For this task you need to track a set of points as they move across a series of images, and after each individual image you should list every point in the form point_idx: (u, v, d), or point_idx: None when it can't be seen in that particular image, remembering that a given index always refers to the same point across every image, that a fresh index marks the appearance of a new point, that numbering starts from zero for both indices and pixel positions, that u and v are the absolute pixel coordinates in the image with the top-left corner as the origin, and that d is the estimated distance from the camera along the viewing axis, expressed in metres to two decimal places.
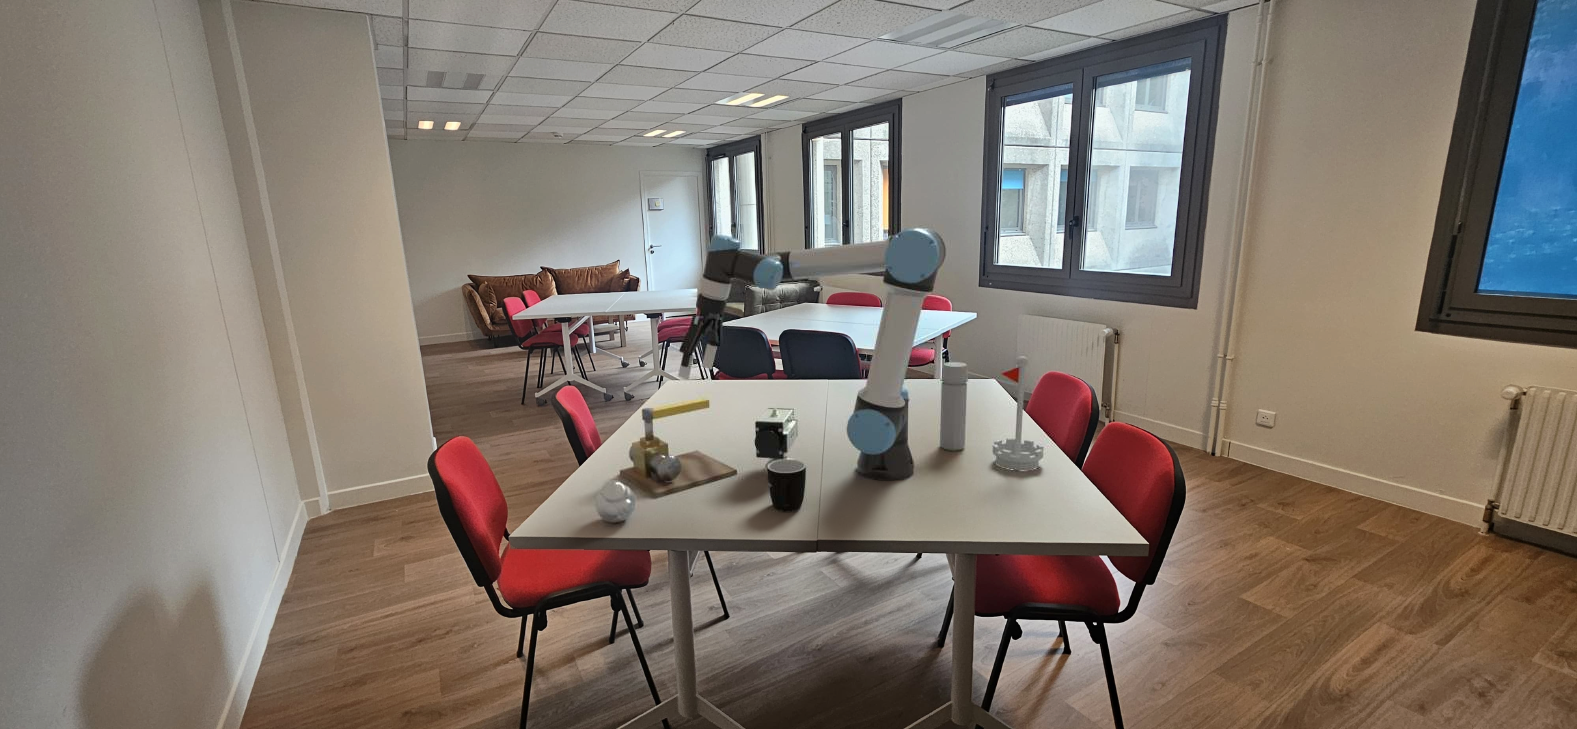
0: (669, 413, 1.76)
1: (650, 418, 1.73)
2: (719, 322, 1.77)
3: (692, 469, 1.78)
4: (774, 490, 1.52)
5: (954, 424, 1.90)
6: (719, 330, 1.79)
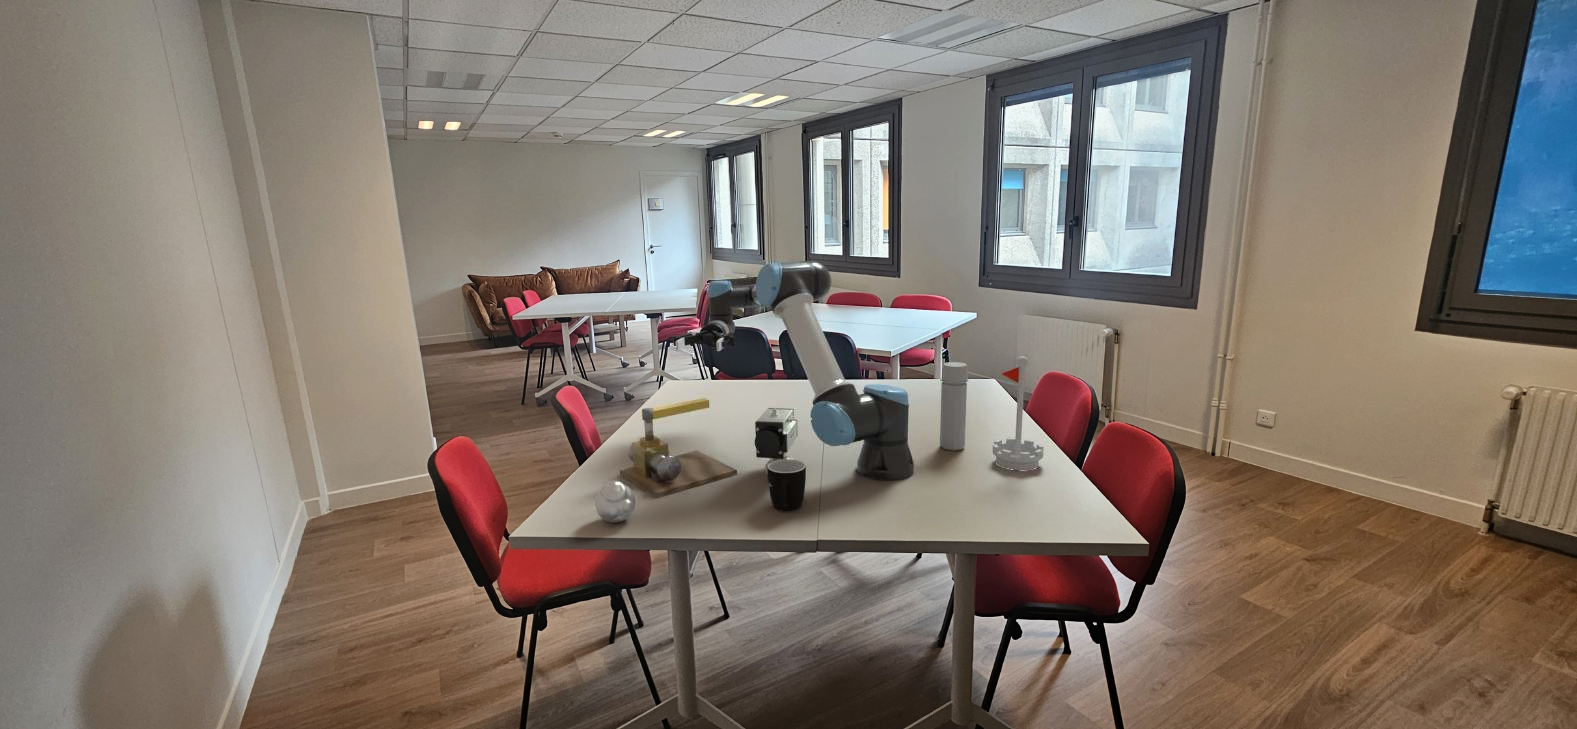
0: (669, 413, 1.76)
1: (650, 418, 1.73)
2: (727, 335, 2.00)
3: (692, 469, 1.78)
4: (774, 490, 1.52)
5: (954, 424, 1.90)
6: (728, 336, 1.97)
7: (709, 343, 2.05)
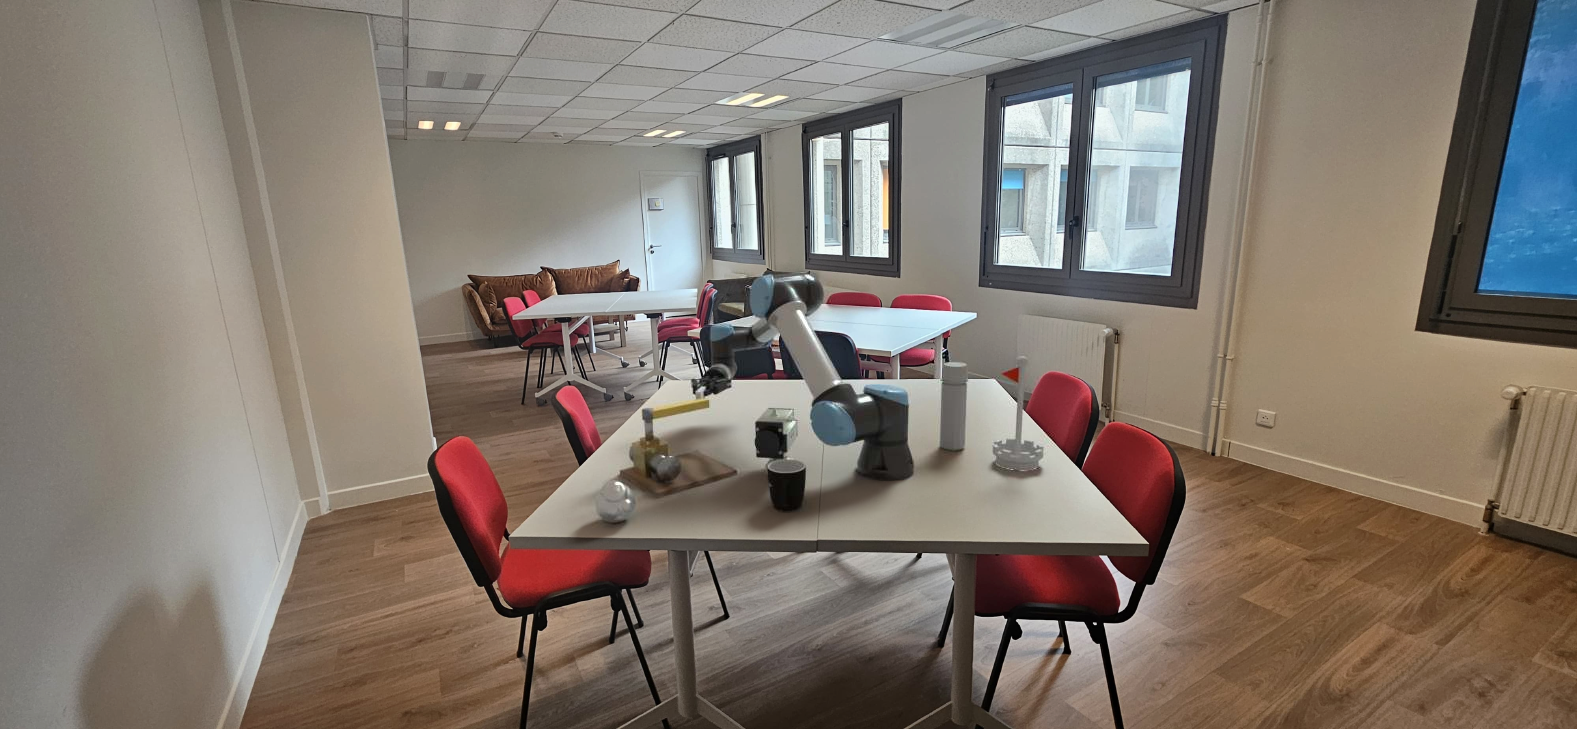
0: (669, 413, 1.76)
1: (650, 418, 1.73)
2: None
3: (692, 469, 1.78)
4: (774, 490, 1.52)
5: (954, 424, 1.90)
6: None
7: None
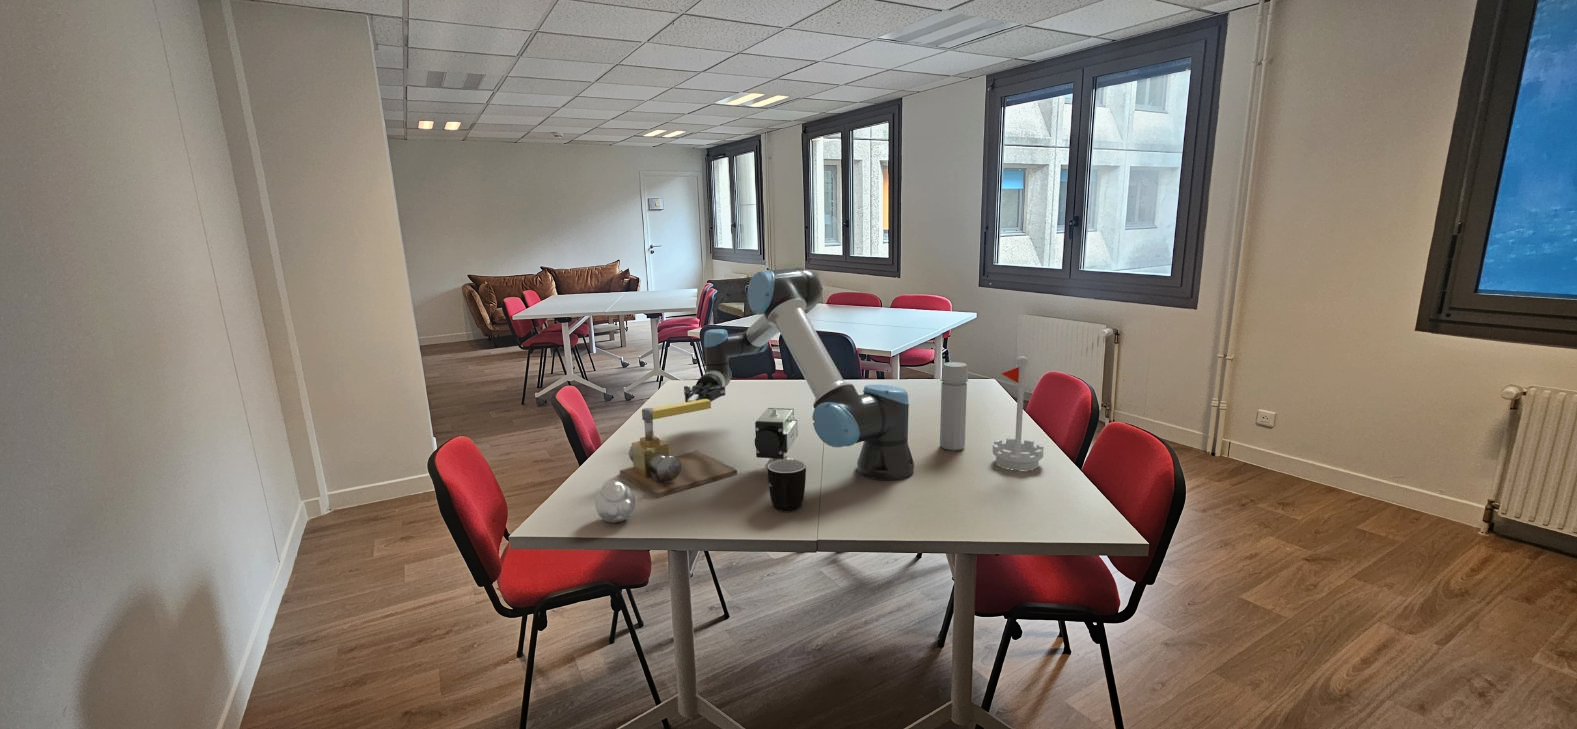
0: (669, 413, 1.76)
1: (650, 418, 1.73)
2: None
3: (692, 469, 1.78)
4: (774, 490, 1.52)
5: (954, 424, 1.90)
6: None
7: None
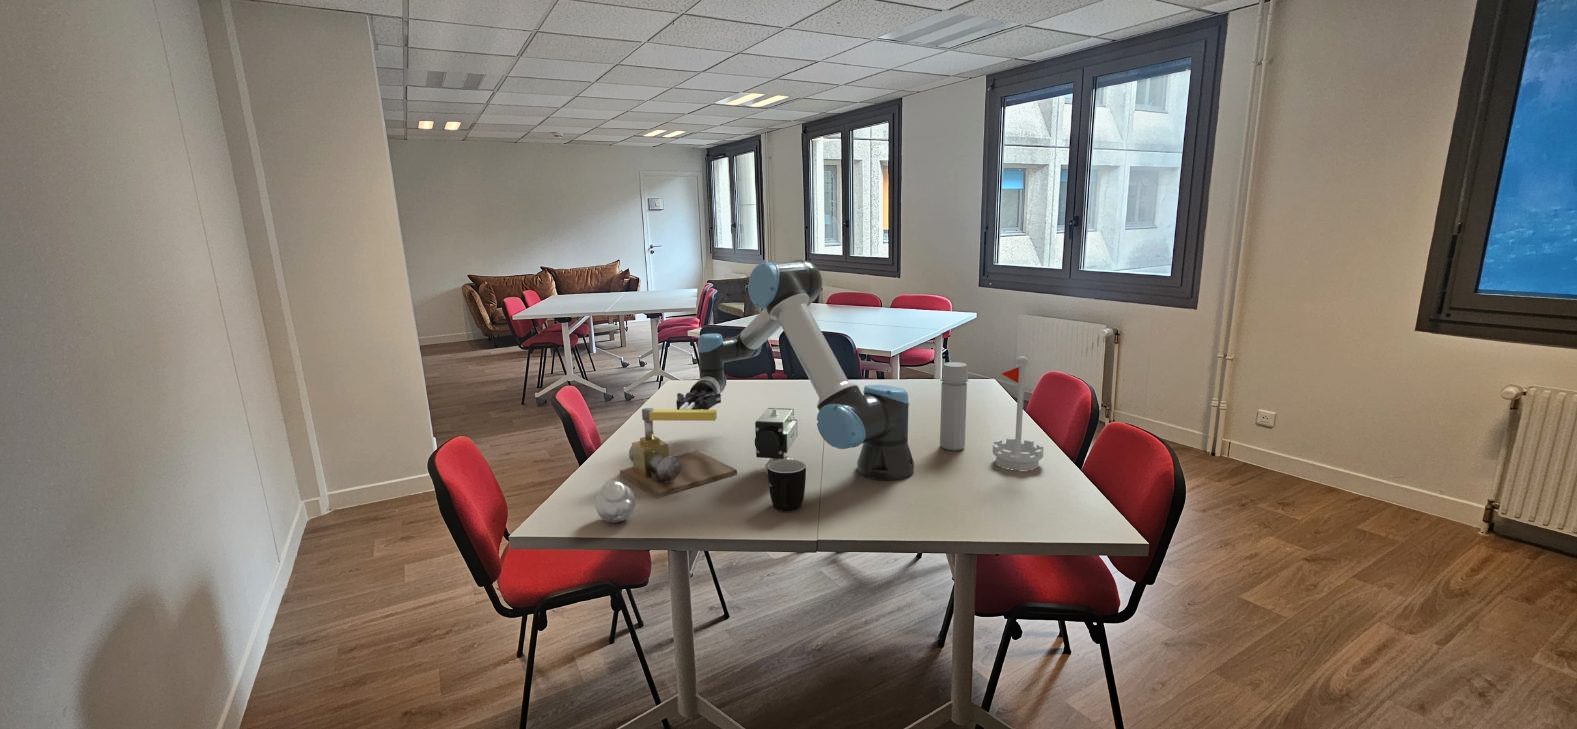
0: (667, 417, 1.72)
1: (646, 418, 1.73)
2: None
3: (692, 469, 1.78)
4: (774, 490, 1.52)
5: (954, 424, 1.90)
6: None
7: None
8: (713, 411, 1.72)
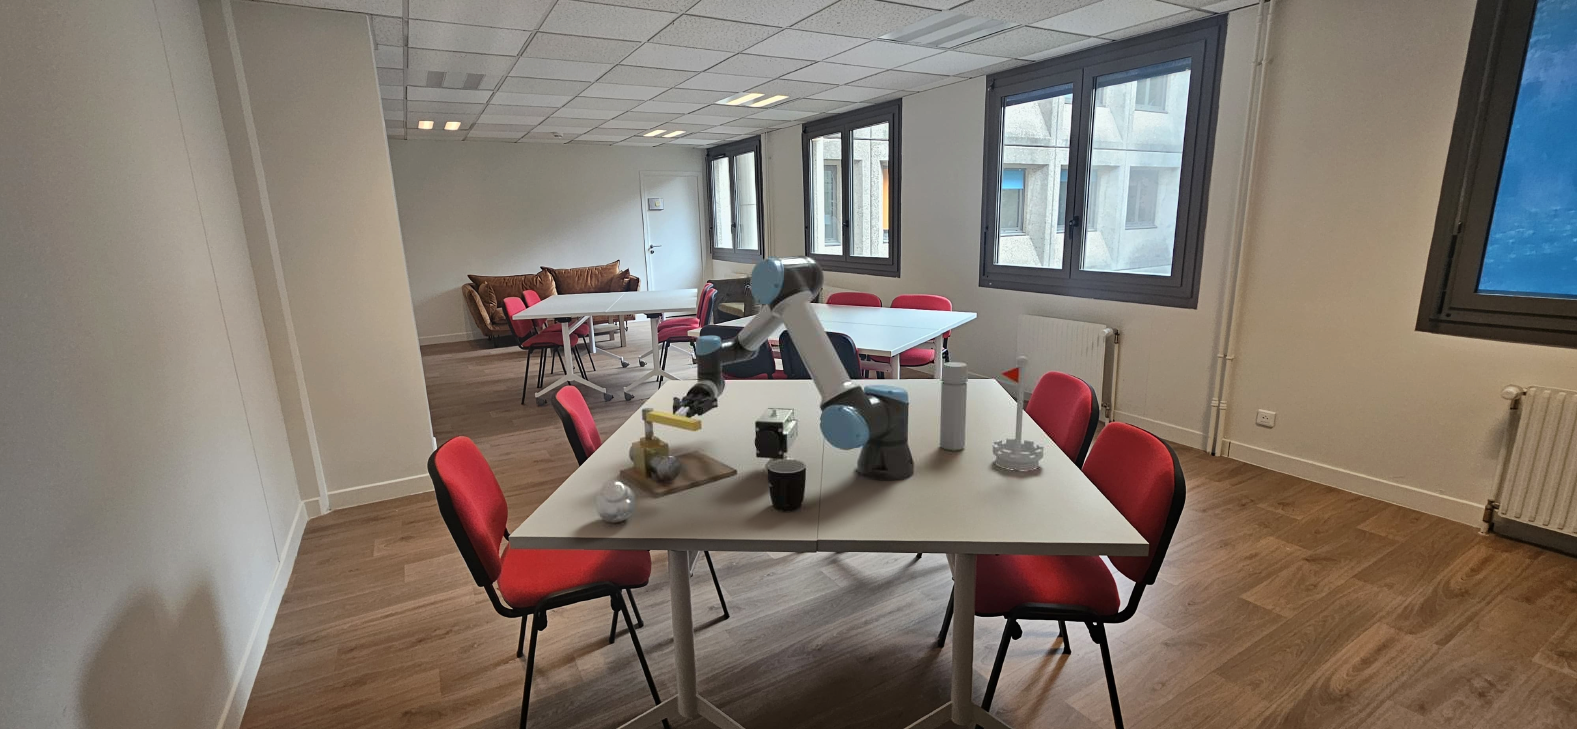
0: (659, 420, 1.70)
1: (643, 418, 1.73)
2: None
3: (692, 469, 1.78)
4: (774, 490, 1.52)
5: (954, 424, 1.90)
6: None
7: None
8: (695, 421, 1.63)
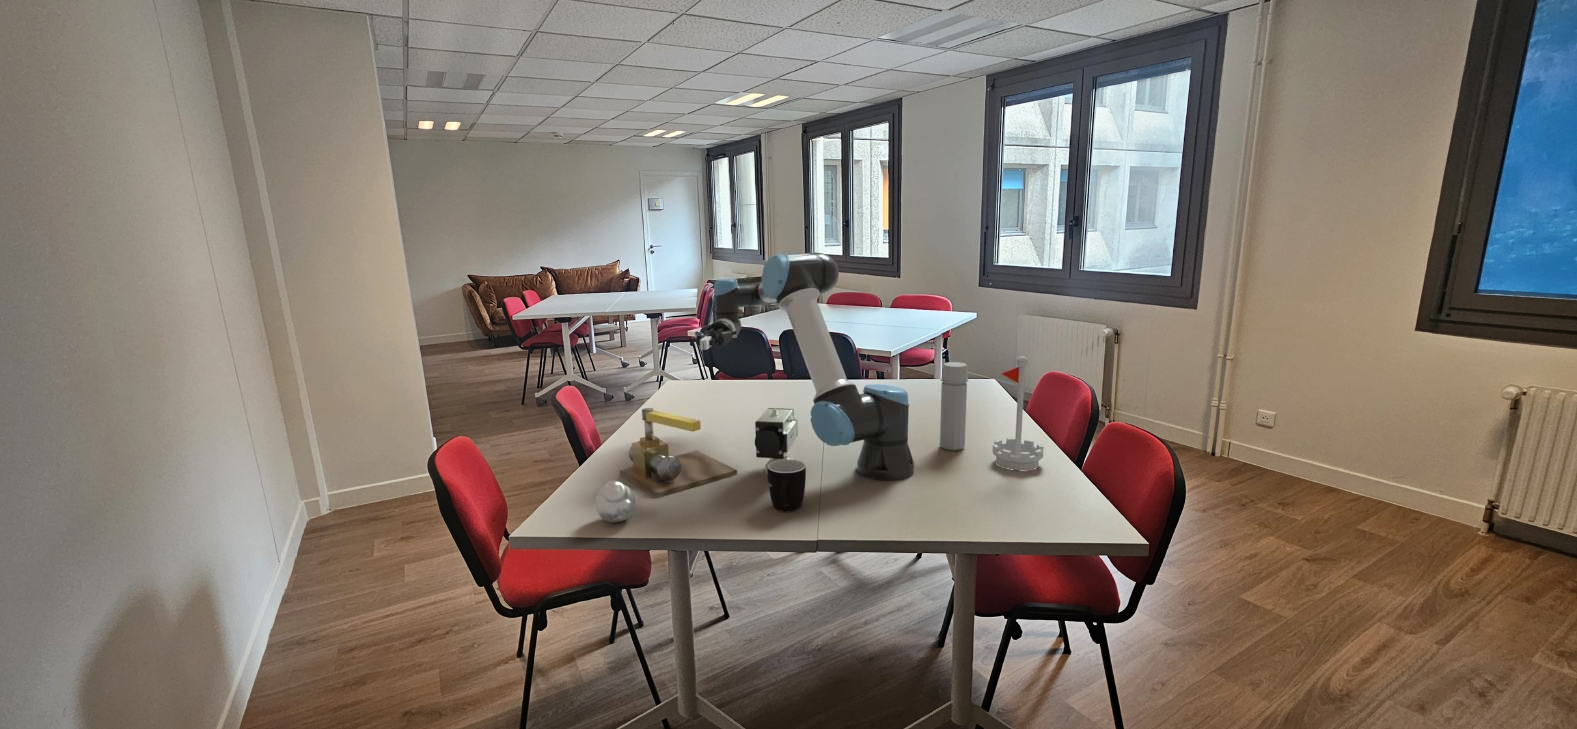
0: (658, 421, 1.70)
1: (643, 418, 1.73)
2: None
3: (692, 469, 1.78)
4: (774, 490, 1.52)
5: (954, 424, 1.90)
6: None
7: None
8: (694, 422, 1.63)
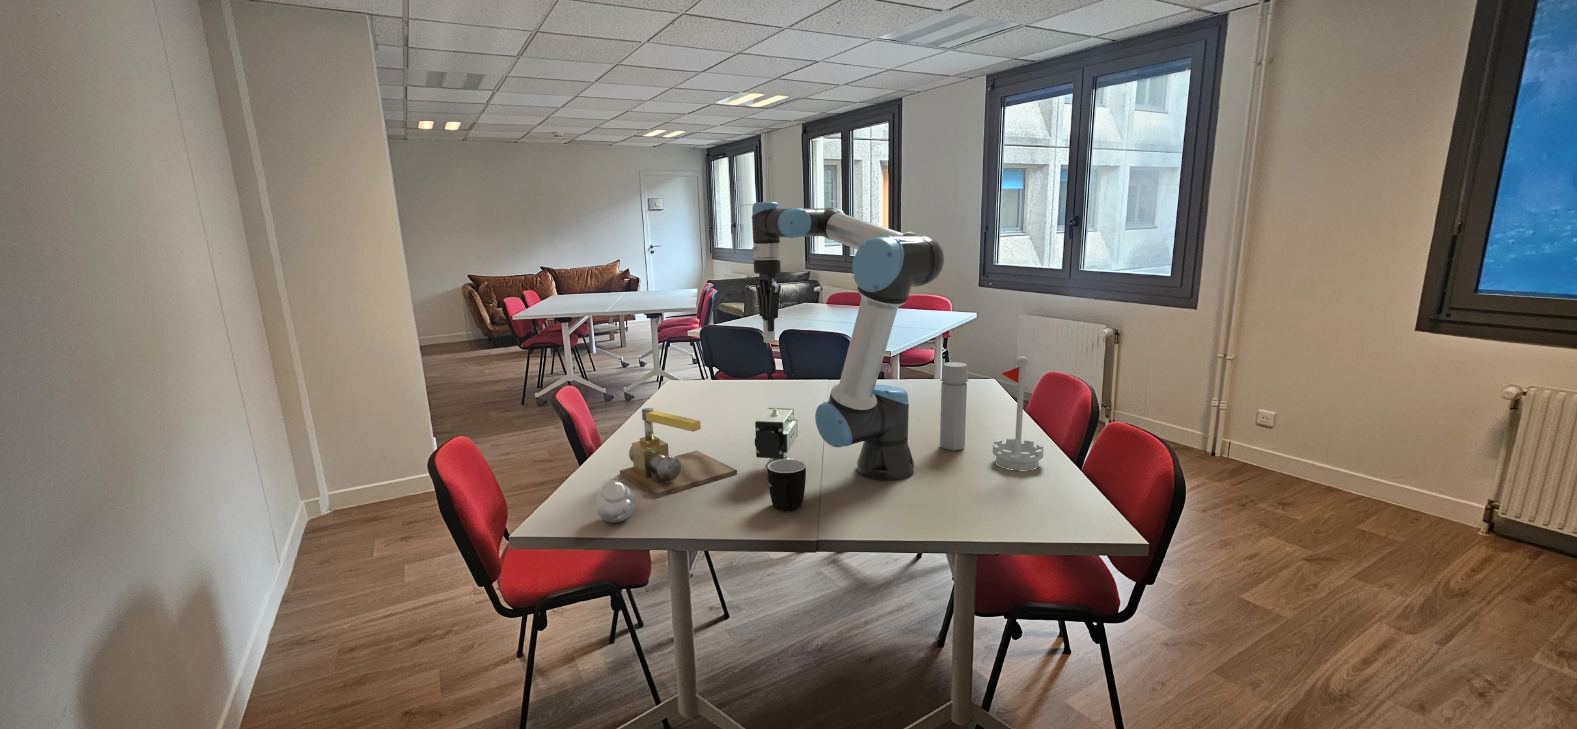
0: (658, 421, 1.70)
1: (643, 418, 1.73)
2: None
3: (692, 469, 1.78)
4: (774, 490, 1.52)
5: (954, 424, 1.90)
6: None
7: (760, 273, 1.84)
8: (694, 422, 1.63)
